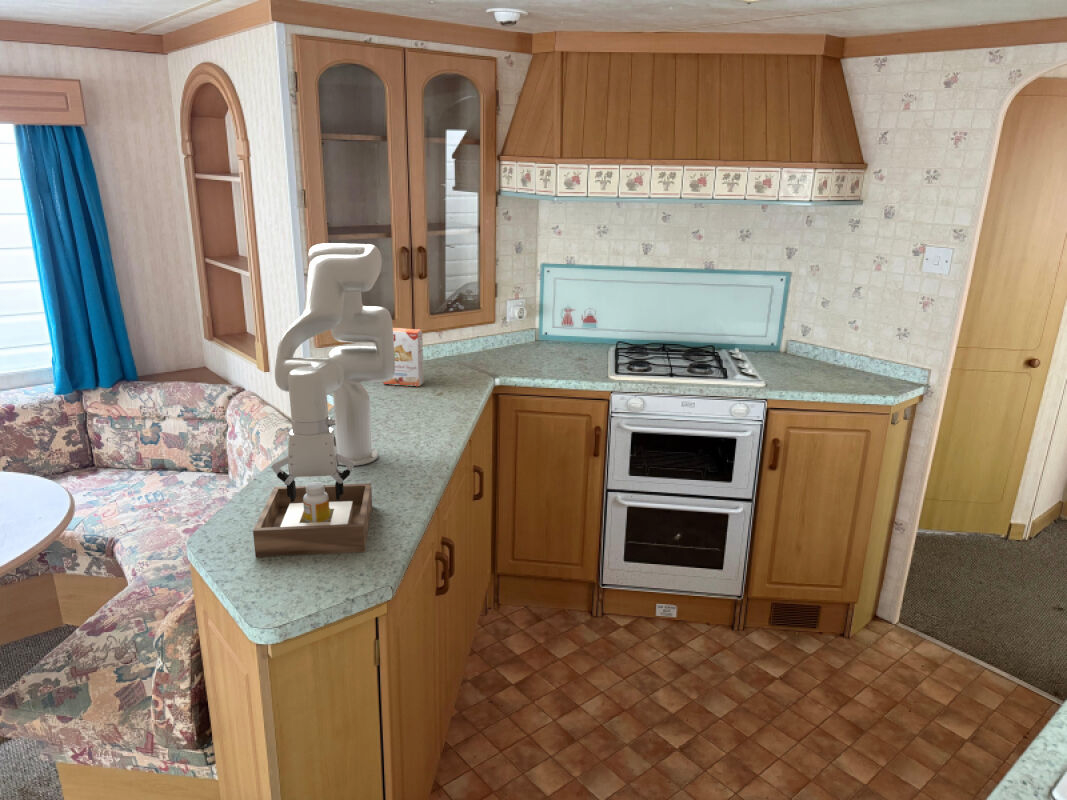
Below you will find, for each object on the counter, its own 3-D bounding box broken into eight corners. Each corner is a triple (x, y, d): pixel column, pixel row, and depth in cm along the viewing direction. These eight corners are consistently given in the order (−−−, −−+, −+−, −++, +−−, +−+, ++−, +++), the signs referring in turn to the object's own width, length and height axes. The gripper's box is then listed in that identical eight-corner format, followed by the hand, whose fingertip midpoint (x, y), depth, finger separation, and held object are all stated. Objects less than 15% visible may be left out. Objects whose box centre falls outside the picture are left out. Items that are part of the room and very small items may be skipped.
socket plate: (290, 513, 170) (289, 503, 170) (353, 510, 172) (352, 501, 172) (279, 542, 157) (278, 531, 156) (346, 539, 159) (346, 528, 158)
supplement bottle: (332, 520, 168) (330, 480, 165) (327, 531, 162) (324, 490, 160) (308, 520, 167) (305, 480, 164) (302, 531, 162) (299, 490, 159)
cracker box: (382, 385, 275) (380, 329, 269) (388, 381, 281) (386, 326, 274) (419, 388, 273) (417, 332, 267) (424, 383, 279) (422, 328, 272)
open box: (276, 510, 174) (274, 486, 172) (372, 506, 177) (371, 483, 175) (255, 557, 153) (252, 530, 151) (364, 551, 156) (363, 526, 154)
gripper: (353, 418, 163) (358, 489, 168) (271, 420, 160) (278, 492, 166) (350, 430, 155) (355, 504, 161) (264, 432, 153) (271, 507, 158)
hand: (316, 498), depth 163 cm, fingers open, 9 cm apart
